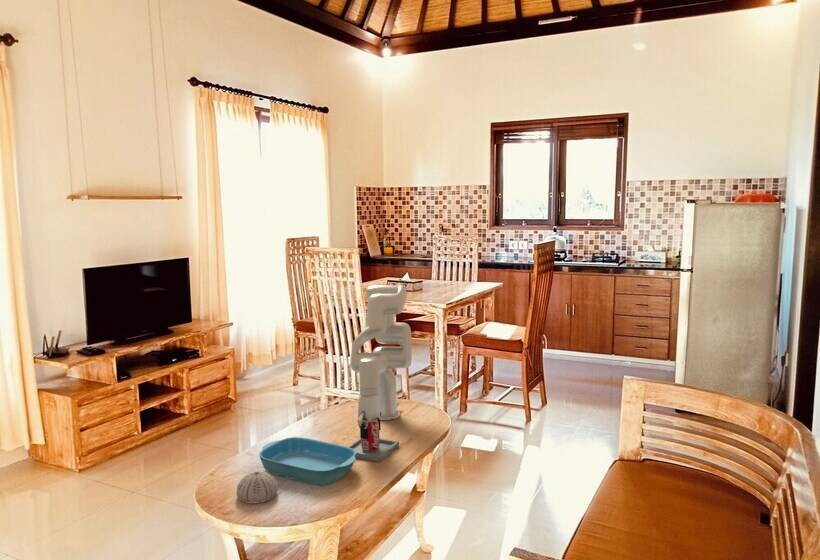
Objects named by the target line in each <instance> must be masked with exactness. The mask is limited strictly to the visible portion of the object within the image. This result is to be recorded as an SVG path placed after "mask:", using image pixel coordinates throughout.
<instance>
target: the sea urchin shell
mask: <svg viewBox="0 0 820 560" xmlns="http://www.w3.org/2000/svg"><path fill="white" fill-rule="evenodd" d="M278 485H279V483H278V481H277V479H276V478H275V477H274V476H273V475H272V473H271V474H270V472H266V471H261V470H256V471H253V472H251V473H248V474H247V475H245V476H244V477H243V478H242V479H240V481H239V482H238V484H237V486H236V491H235V493H236V496H237V499H238V500H239V501H241V500H242V501H241V502H243V503H245V502H261V503H263V502H266V501H265V500H267V501H269V500H271V499H272V498H274V497H275V495H276V494H277V493H278V490H279V486H278ZM268 499H269V500H268ZM262 501H263V502H262Z"/></svg>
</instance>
